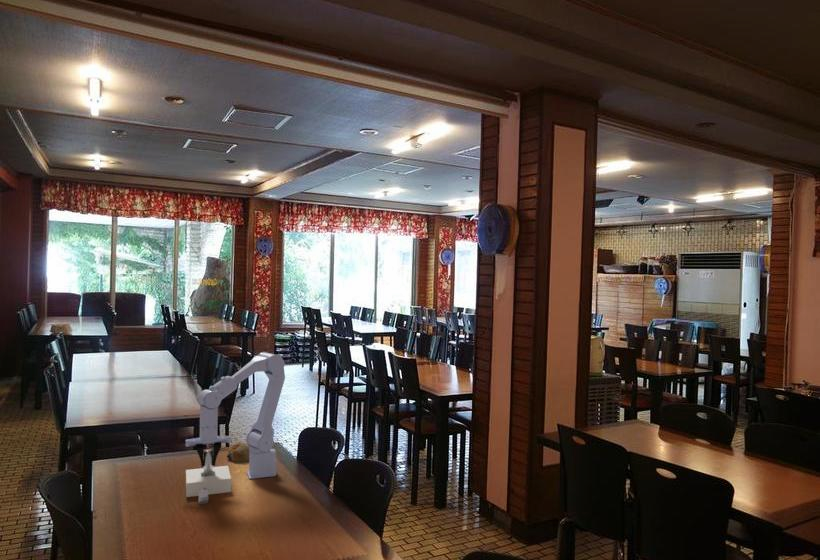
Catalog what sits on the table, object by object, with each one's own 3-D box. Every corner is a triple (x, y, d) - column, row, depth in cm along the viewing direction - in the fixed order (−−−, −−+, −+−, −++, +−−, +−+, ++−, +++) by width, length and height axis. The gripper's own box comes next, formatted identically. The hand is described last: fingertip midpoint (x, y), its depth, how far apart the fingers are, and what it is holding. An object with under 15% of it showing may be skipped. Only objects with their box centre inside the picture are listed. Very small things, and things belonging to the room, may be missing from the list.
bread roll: (244, 471, 226) (253, 453, 226) (221, 460, 226) (230, 441, 226) (252, 463, 236) (261, 445, 236) (229, 452, 236) (238, 434, 236)
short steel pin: (208, 499, 188) (208, 487, 188) (208, 503, 186) (208, 490, 186) (198, 501, 187) (198, 488, 187) (198, 504, 185) (198, 491, 185)
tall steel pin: (214, 473, 200) (214, 449, 200) (210, 476, 197) (210, 452, 197) (206, 472, 201) (206, 449, 201) (201, 475, 198) (202, 452, 198)
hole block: (227, 478, 208) (227, 465, 208) (231, 491, 195) (231, 478, 195) (185, 482, 203) (185, 469, 203) (186, 497, 190) (186, 483, 190)
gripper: (229, 421, 206) (229, 459, 206) (185, 424, 200) (185, 463, 200) (231, 425, 199) (231, 465, 199) (186, 429, 194) (185, 470, 194)
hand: (208, 465), depth 199 cm, fingers closed on tall steel pin, 3 cm apart
